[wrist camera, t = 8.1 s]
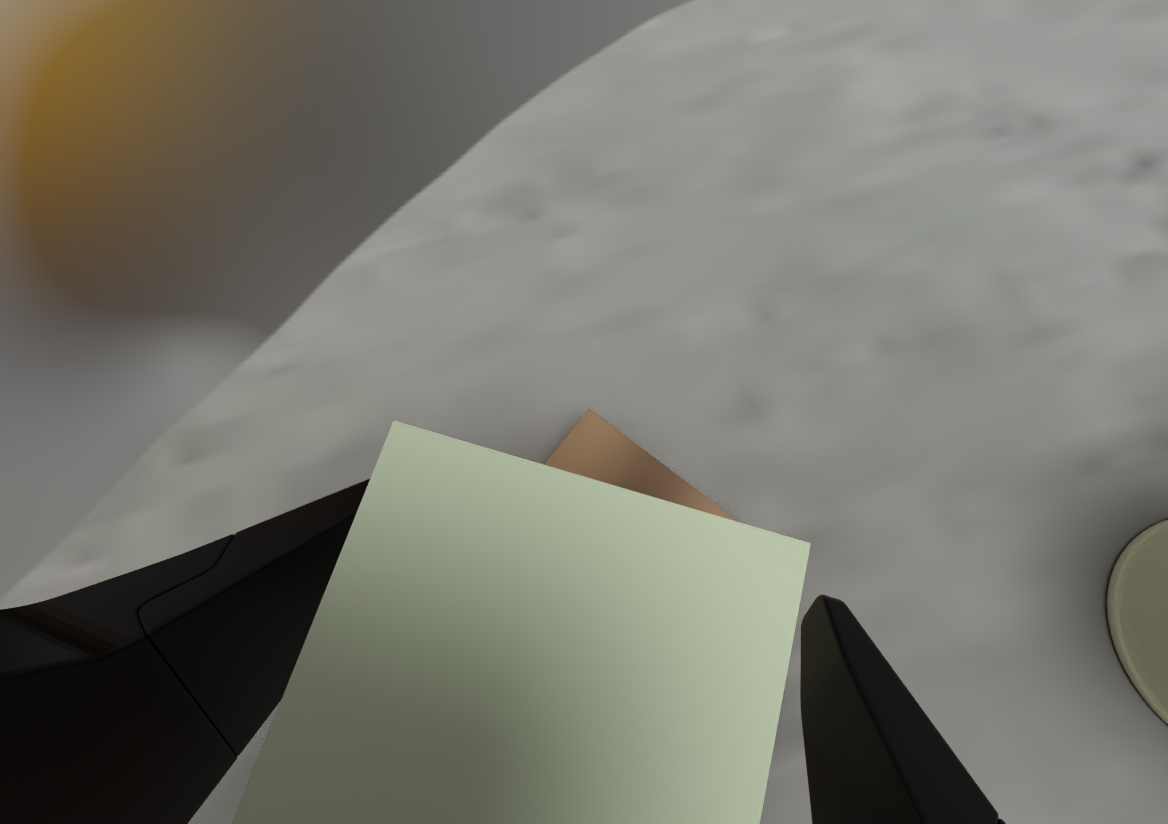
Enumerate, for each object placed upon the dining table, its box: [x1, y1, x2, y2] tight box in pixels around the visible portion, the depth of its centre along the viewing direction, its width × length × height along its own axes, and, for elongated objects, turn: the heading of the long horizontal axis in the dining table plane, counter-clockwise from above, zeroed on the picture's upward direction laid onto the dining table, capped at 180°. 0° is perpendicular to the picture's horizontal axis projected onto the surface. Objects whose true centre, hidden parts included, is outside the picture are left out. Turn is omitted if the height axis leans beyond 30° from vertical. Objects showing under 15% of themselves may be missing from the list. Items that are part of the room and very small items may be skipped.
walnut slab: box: [543, 409, 738, 522], centre depth 18 cm, size 9×9×3 cm
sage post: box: [232, 421, 811, 824], centre depth 10 cm, size 4×4×13 cm
